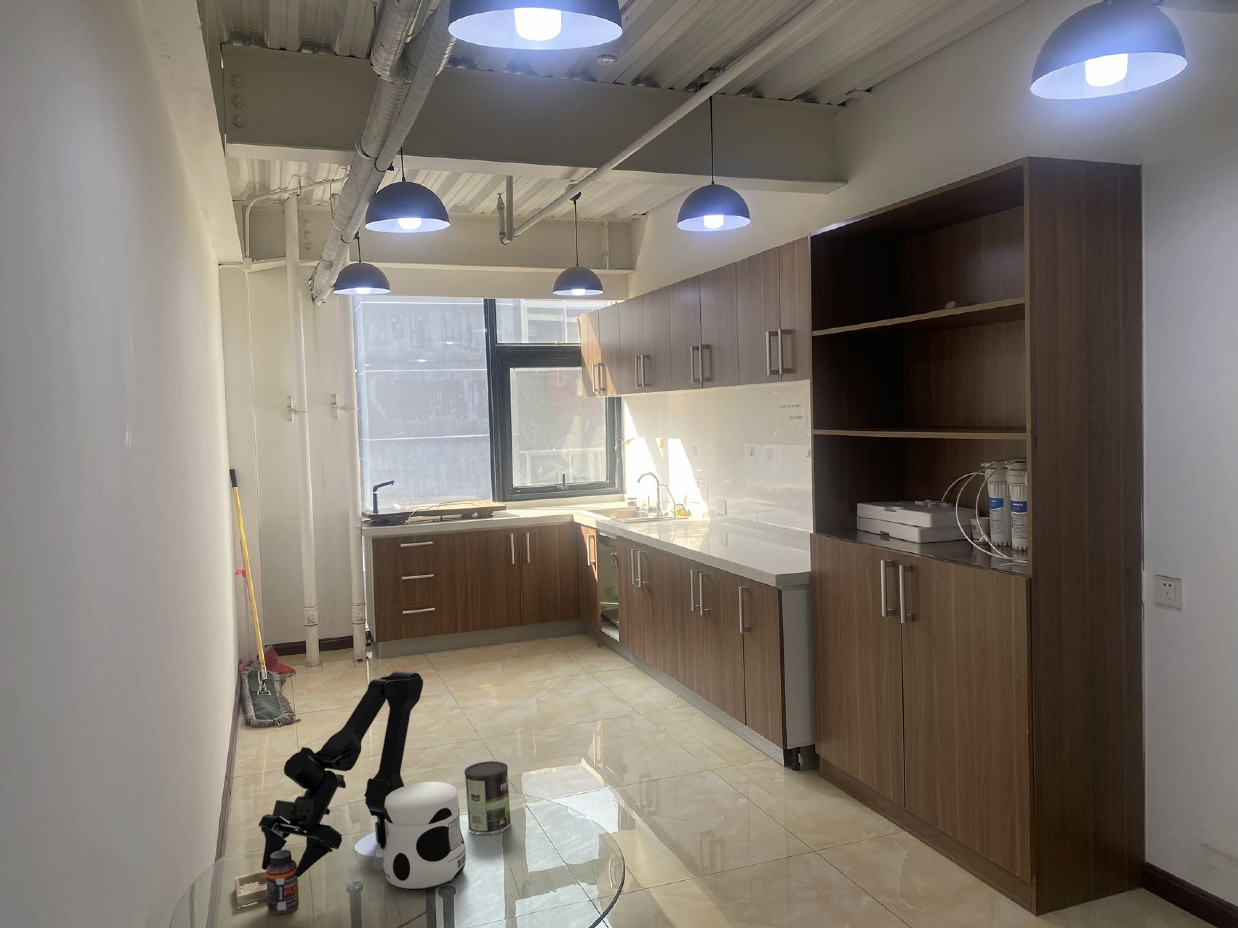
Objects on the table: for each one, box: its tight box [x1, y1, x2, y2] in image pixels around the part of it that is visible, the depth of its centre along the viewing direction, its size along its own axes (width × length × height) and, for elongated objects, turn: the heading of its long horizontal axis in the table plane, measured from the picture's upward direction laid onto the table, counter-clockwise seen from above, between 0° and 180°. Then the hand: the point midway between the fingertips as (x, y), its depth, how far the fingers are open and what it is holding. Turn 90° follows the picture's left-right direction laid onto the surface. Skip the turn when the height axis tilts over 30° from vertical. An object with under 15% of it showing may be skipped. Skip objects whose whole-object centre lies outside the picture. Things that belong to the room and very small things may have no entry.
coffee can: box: [464, 760, 512, 836], centre depth 222 cm, size 10×10×14 cm
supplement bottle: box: [266, 849, 300, 915], centre depth 188 cm, size 6×6×11 cm
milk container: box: [382, 781, 467, 892], centre depth 197 cm, size 17×17×18 cm
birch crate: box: [233, 869, 268, 908], centre depth 195 cm, size 10×10×2 cm
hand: (279, 872), depth 187 cm, fingers open, 9 cm apart
